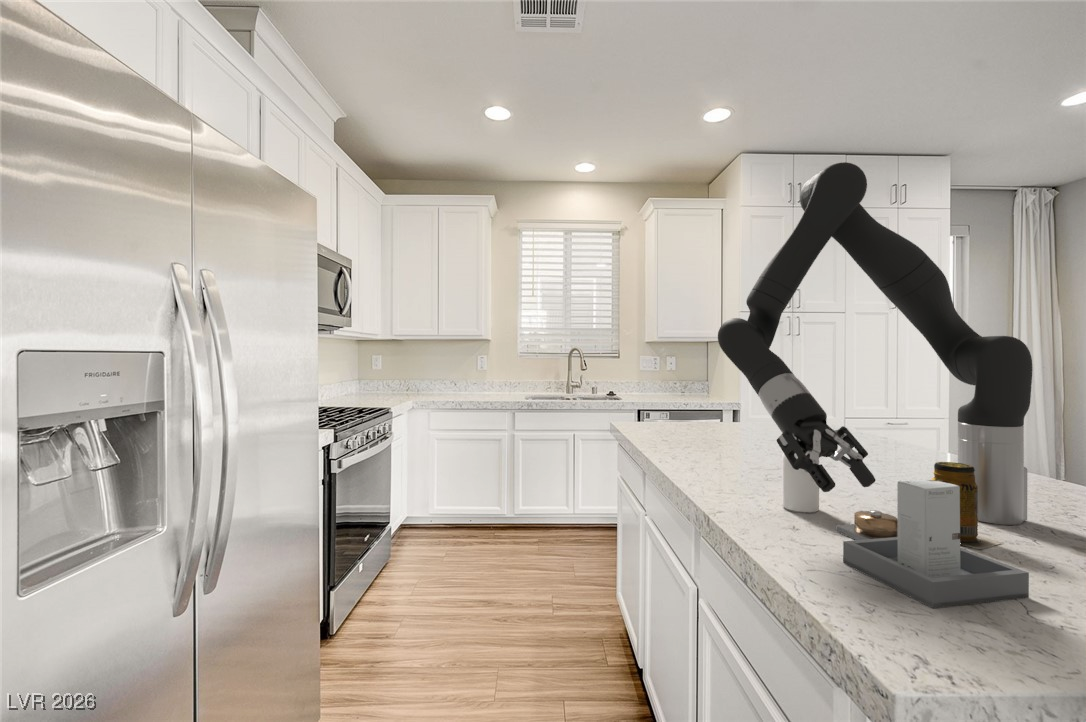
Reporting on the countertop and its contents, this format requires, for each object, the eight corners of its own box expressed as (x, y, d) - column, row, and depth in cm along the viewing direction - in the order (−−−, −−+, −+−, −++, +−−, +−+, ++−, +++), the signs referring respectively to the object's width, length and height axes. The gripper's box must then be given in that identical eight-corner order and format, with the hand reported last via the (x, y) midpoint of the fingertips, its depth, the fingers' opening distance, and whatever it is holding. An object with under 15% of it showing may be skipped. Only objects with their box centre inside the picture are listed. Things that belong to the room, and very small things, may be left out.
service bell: (876, 528, 90) (876, 503, 90) (918, 544, 83) (918, 517, 83) (836, 531, 89) (836, 506, 89) (874, 548, 81) (874, 520, 81)
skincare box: (926, 583, 67) (926, 488, 67) (894, 569, 72) (895, 480, 71) (963, 577, 69) (963, 485, 69) (930, 564, 73) (930, 478, 73)
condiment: (942, 528, 91) (942, 459, 91) (1003, 543, 83) (1003, 468, 83) (918, 534, 88) (918, 462, 87) (978, 551, 80) (978, 472, 80)
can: (823, 514, 98) (823, 450, 98) (786, 512, 100) (786, 449, 100) (813, 505, 105) (813, 445, 105) (778, 503, 106) (778, 444, 106)
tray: (925, 555, 78) (925, 534, 78) (1028, 597, 64) (1028, 572, 64) (843, 562, 75) (843, 541, 75) (933, 608, 62) (933, 582, 62)
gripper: (771, 392, 86) (832, 477, 75) (834, 390, 91) (900, 469, 80) (747, 421, 91) (801, 504, 80) (808, 417, 96) (867, 495, 85)
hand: (850, 486), depth 80 cm, fingers open, 8 cm apart
